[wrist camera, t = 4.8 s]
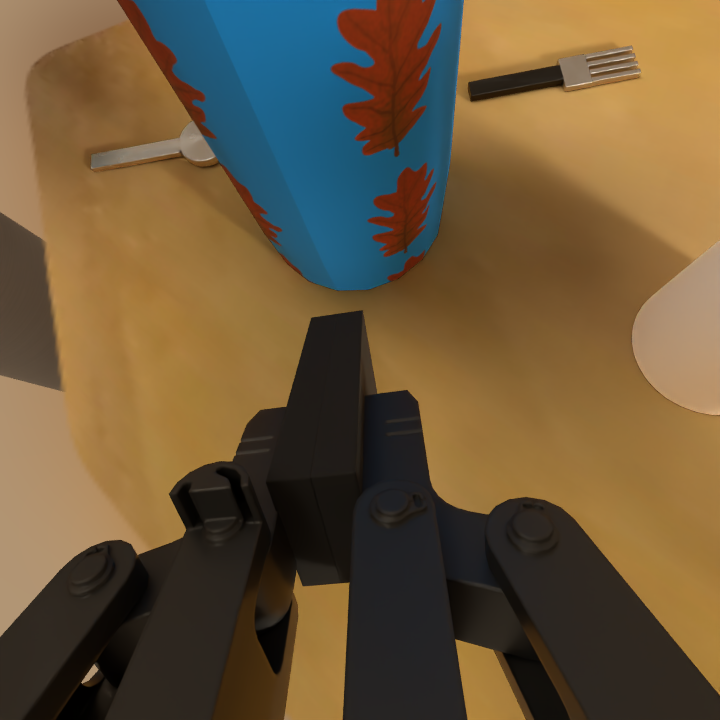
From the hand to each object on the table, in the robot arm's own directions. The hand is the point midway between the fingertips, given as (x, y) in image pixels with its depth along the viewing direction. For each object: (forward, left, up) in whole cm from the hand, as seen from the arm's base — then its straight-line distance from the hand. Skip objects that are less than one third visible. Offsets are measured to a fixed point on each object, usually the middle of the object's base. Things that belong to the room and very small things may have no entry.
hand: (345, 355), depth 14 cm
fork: (+13, +19, -11) cm, 26 cm away
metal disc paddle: (-13, +19, -11) cm, 26 cm away
